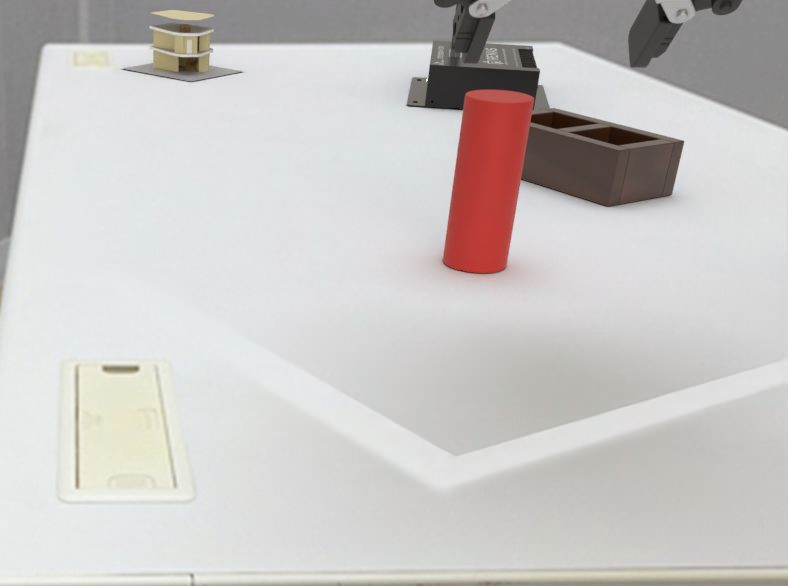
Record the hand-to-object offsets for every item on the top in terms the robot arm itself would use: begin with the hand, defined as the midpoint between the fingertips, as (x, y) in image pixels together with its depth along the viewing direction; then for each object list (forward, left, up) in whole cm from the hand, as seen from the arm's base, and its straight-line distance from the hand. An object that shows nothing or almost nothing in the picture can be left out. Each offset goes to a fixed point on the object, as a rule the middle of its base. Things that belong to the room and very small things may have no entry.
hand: (551, 50), depth 61 cm
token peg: (-5, -8, -14) cm, 17 cm away
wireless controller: (-46, -51, -14) cm, 70 cm away
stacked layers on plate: (-24, -74, -14) cm, 79 cm away
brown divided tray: (-27, -20, -14) cm, 36 cm away
